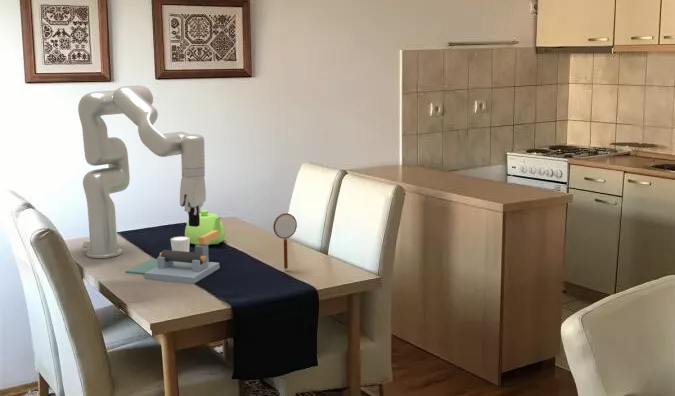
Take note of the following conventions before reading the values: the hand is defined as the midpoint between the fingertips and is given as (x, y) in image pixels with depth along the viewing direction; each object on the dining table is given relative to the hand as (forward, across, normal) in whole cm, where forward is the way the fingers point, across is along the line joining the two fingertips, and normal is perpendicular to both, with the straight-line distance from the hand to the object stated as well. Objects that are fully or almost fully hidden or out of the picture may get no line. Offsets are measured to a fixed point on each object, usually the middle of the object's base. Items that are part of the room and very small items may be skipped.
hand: (194, 225), depth 249 cm
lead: (+12, +4, -3) cm, 13 cm away
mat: (+16, +1, -17) cm, 24 cm away
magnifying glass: (+15, -9, +30) cm, 35 cm away
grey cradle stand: (+16, +4, -2) cm, 17 cm away
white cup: (+16, -14, -13) cm, 26 cm away
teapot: (+17, -34, -13) cm, 40 cm away
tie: (+7, -9, +1) cm, 11 cm away
